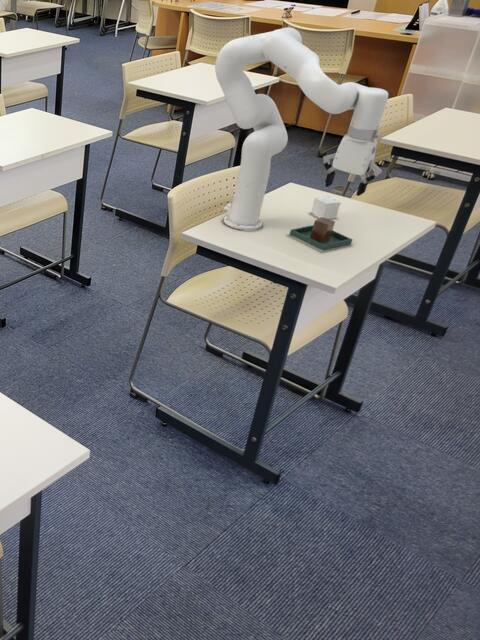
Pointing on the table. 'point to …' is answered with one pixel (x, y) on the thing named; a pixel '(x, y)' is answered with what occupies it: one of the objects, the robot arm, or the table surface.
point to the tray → (334, 242)
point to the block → (322, 230)
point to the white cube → (325, 207)
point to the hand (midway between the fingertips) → (343, 190)
